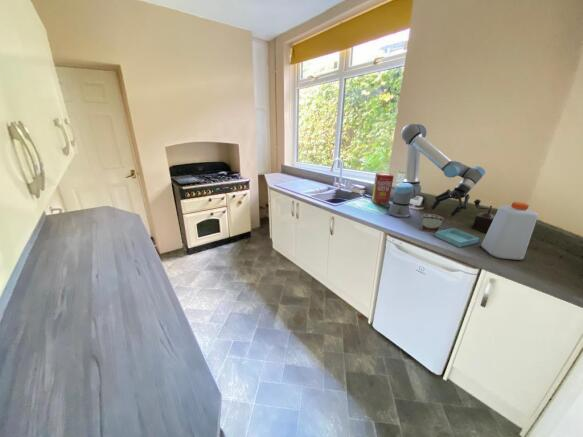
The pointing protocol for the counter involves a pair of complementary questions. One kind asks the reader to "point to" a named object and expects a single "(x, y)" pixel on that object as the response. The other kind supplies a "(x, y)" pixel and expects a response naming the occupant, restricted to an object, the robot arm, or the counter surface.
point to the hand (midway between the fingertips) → (441, 211)
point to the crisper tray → (456, 237)
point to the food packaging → (382, 188)
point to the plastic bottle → (510, 231)
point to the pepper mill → (482, 218)
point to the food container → (431, 222)
